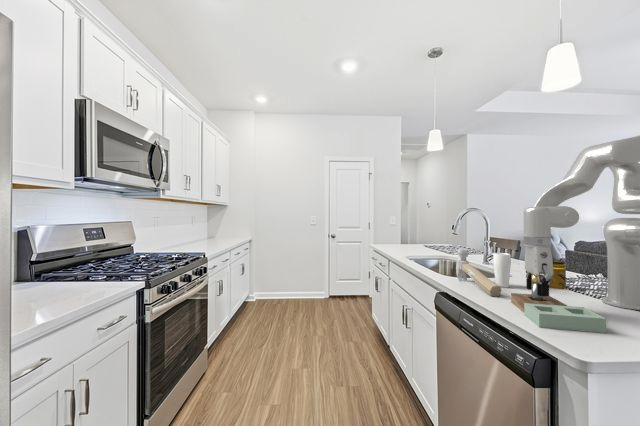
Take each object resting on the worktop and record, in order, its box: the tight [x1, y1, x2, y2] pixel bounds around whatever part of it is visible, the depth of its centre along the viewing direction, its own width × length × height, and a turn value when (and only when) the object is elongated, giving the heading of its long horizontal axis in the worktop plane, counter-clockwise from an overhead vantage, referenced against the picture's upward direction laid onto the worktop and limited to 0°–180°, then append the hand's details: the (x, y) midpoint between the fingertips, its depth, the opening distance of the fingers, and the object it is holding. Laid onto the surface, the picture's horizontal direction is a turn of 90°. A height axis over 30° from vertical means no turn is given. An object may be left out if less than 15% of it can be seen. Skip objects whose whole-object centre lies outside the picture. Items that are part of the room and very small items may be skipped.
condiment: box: [549, 259, 570, 291], centre depth 126 cm, size 7×8×12 cm
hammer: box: [455, 247, 502, 298], centre depth 127 cm, size 16×5×30 cm
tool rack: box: [523, 303, 607, 334], centre depth 85 cm, size 16×10×4 cm, turn 74°
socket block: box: [510, 292, 568, 313], centre depth 98 cm, size 12×12×4 cm
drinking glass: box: [492, 252, 512, 289], centre depth 128 cm, size 7×7×15 cm
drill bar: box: [531, 274, 543, 301], centre depth 98 cm, size 3×3×12 cm
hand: (537, 292), depth 98 cm, fingers open, 7 cm apart
